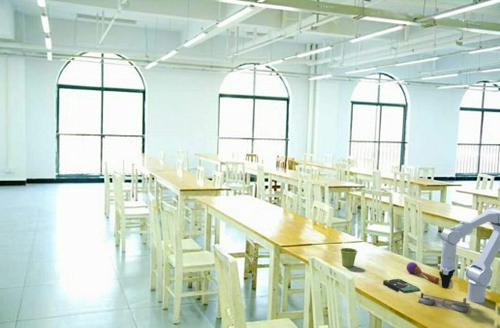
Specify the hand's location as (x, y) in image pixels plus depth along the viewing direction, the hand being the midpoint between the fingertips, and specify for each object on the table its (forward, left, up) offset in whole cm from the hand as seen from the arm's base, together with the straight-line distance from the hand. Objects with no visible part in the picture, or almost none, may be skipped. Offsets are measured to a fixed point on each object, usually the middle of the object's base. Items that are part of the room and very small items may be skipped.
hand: (445, 286), depth 208 cm
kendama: (-33, -15, -8) cm, 37 cm away
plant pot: (-28, -53, -8) cm, 61 cm away
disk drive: (-8, -20, -9) cm, 23 cm away
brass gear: (0, 0, 0) cm, 0 cm away
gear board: (+3, 0, -8) cm, 9 cm away
